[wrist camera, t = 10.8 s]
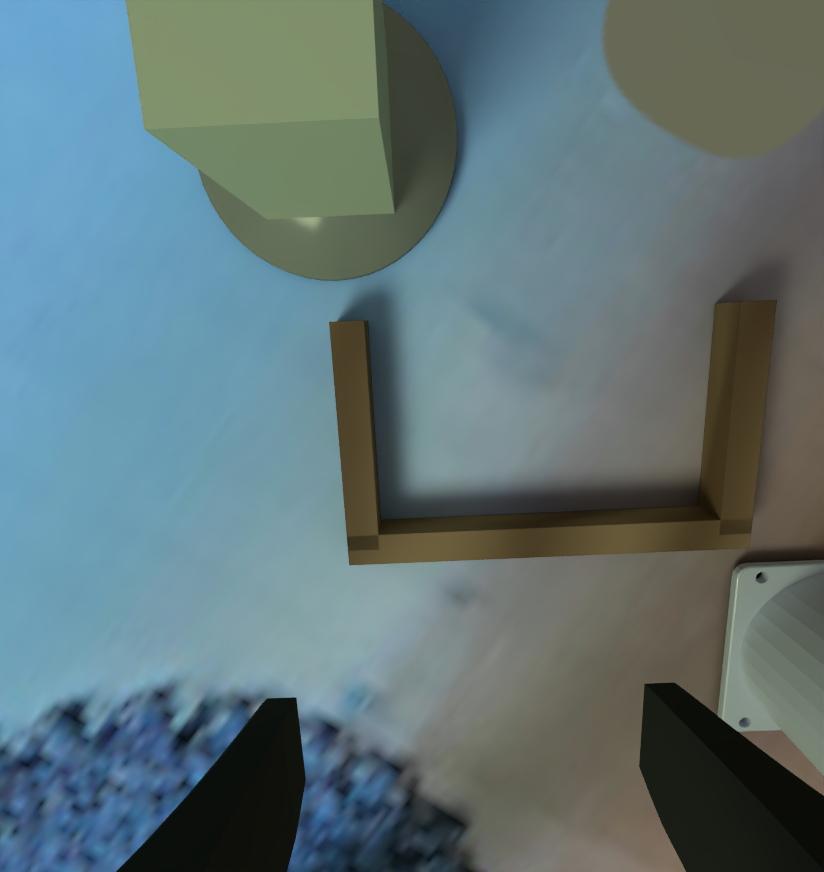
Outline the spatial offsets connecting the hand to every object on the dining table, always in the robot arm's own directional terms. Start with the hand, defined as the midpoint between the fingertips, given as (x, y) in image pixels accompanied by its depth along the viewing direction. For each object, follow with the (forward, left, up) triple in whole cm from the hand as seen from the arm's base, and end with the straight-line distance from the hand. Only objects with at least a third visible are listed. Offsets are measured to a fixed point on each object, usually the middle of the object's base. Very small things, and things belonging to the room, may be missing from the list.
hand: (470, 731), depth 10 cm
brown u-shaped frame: (-4, -4, -10) cm, 12 cm away
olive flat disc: (+3, -15, -10) cm, 18 cm away
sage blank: (+3, -15, -10) cm, 18 cm away
